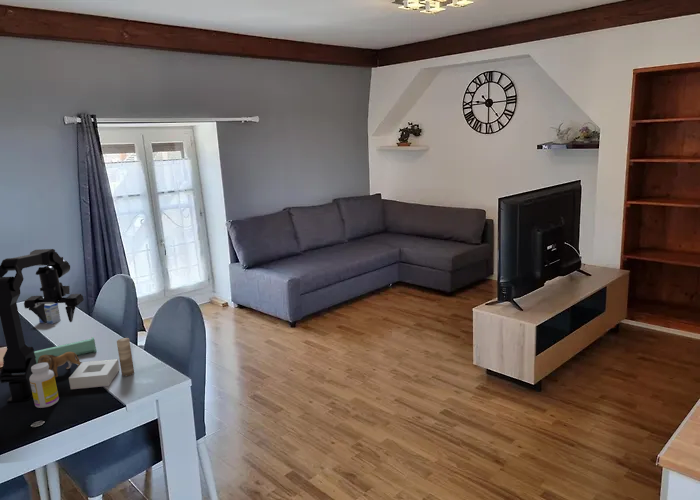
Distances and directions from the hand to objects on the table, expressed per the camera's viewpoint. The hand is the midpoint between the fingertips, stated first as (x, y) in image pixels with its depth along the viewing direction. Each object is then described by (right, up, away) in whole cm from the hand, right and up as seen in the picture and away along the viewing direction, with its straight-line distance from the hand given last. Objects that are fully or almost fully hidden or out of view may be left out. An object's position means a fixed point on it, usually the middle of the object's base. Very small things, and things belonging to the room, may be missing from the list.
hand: (58, 322), depth 189 cm
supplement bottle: (+13, -22, -28) cm, 38 cm away
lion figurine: (+6, -17, -8) cm, 20 cm away
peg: (+30, -16, -10) cm, 36 cm away
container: (-2, -15, +4) cm, 15 cm away
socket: (+21, -17, -14) cm, 30 cm away
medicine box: (-28, -6, +43) cm, 52 cm away
